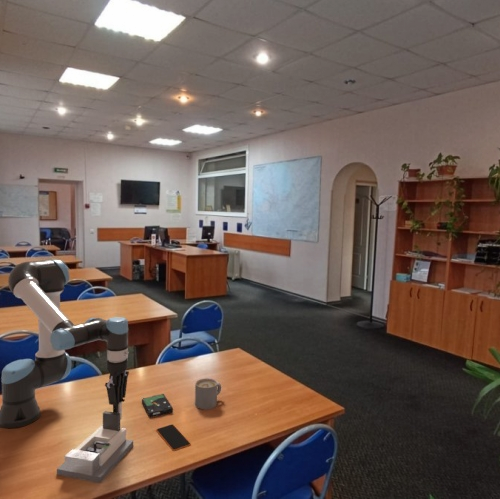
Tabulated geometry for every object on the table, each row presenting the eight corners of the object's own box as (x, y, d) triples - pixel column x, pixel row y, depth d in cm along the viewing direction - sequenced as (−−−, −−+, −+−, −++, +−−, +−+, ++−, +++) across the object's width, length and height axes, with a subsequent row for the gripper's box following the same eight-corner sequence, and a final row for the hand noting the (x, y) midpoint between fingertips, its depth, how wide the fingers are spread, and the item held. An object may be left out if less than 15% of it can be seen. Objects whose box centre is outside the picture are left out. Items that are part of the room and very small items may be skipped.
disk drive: (173, 414, 172) (163, 398, 185) (173, 407, 171) (163, 393, 184) (149, 419, 167) (141, 403, 180) (149, 413, 166) (141, 397, 179)
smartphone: (173, 452, 144) (173, 450, 144) (155, 431, 158) (155, 429, 157) (191, 445, 148) (191, 443, 148) (173, 425, 162) (173, 423, 162)
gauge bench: (56, 474, 129) (56, 456, 129) (94, 439, 150) (94, 423, 149) (100, 483, 126) (100, 464, 126) (133, 445, 147) (133, 429, 146)
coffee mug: (201, 411, 173) (201, 389, 172) (191, 402, 182) (191, 381, 181) (227, 404, 181) (227, 383, 180) (216, 395, 189) (217, 375, 188)
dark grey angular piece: (85, 455, 136) (85, 441, 136) (88, 452, 138) (88, 438, 137) (107, 459, 135) (107, 445, 134) (110, 456, 136) (110, 442, 136)
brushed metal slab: (64, 470, 129) (64, 456, 128) (72, 462, 133) (72, 448, 132) (92, 475, 127) (92, 461, 126) (99, 467, 130) (99, 453, 130)
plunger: (94, 447, 141) (94, 420, 140) (105, 436, 148) (105, 410, 147) (109, 449, 140) (109, 423, 139) (120, 438, 147) (120, 413, 146)
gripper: (117, 366, 141) (116, 429, 143) (135, 354, 153) (134, 412, 156) (98, 364, 142) (98, 426, 144) (117, 352, 155) (117, 409, 157)
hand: (117, 419), depth 150 cm, fingers closed
